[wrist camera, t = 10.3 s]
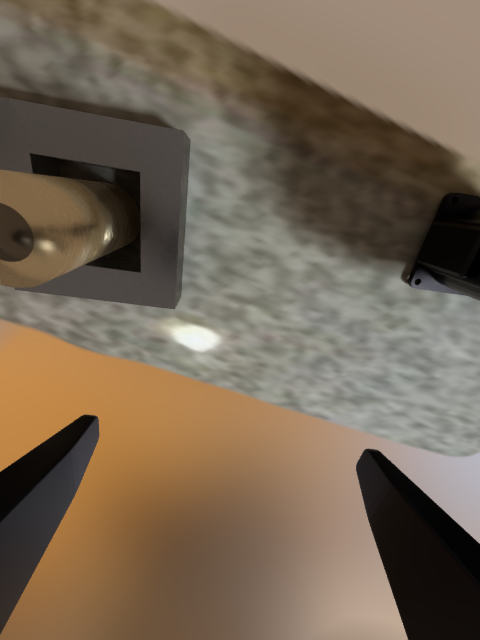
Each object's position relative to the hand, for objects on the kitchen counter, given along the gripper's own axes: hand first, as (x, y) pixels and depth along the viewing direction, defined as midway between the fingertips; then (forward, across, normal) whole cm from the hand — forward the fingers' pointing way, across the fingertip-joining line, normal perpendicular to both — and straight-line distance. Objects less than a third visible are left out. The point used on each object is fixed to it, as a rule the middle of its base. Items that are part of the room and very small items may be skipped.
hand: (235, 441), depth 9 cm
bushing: (+13, +9, -4) cm, 16 cm away
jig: (+13, +9, -5) cm, 16 cm away
